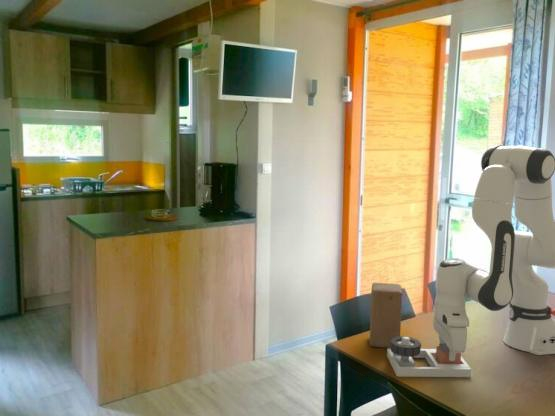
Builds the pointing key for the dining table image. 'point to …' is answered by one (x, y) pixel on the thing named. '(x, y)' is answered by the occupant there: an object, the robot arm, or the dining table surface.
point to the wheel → (405, 347)
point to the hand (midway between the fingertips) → (447, 354)
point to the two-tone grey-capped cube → (446, 355)
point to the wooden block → (385, 314)
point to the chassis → (407, 367)
